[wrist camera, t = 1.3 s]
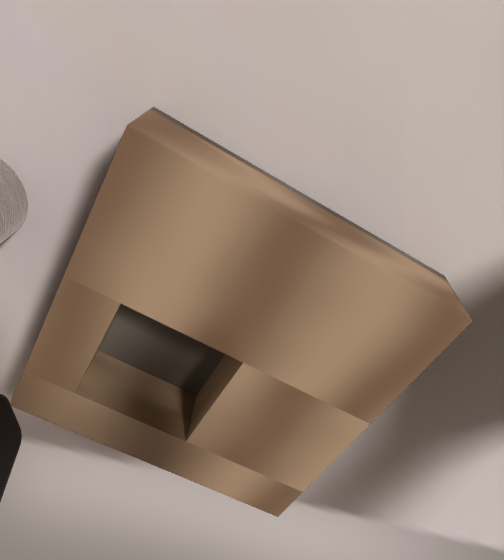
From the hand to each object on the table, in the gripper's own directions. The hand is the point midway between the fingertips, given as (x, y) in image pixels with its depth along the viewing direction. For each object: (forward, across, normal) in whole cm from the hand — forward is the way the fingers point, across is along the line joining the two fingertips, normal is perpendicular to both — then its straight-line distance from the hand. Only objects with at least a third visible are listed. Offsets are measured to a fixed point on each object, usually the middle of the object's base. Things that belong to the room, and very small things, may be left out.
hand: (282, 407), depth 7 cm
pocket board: (+13, +3, +7) cm, 15 cm away
